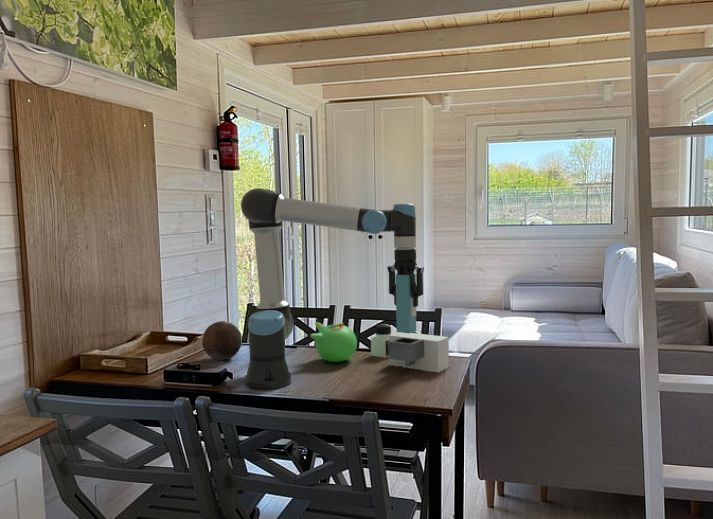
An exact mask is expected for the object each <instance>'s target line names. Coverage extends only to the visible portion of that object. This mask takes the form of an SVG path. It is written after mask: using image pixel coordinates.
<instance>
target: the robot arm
mask: <svg viewBox="0 0 713 519" xmlns="http://www.w3.org/2000/svg"><path fill="white" fill-rule="evenodd" d="M240 202H241V203H240V209H241V212H242V214H243V216H244V217H245V219H246V220H248V227H249V228H248V229H249V230H250V232H252V233H253V237H254V245H255V246H254V247H255V258H256V259H255V260H256V269H257V270H256V271H257V279H258V290H259V291H258V292H259V300H260V301H259V303H258V304H257V306H256V312H253V313H252V314H250V316H249V318H248V323H247V328H248V346H249V349H248V350H249V364H248V367H247V373H246V375H245V377H244V379H245V380H244V381H245V382H244V383H245V384H244V385H245V386H246V387H247V388H249V389H254V390H274V389H280V388H284V387H287V386H288V385H290V384H291V383H292V374H291V372H290V371H289V367H288V363H287V360H286V343H285V342H286V340H287V339H288V338H289V337H290V335H291V334H292V332H293V329H294V318H293V315H292V314H291V307H290V302H289V301H287V299H286V297H285V288H284V277H283V265H282V255H281V254H282V253H281V251H282V250H281V241H280V231H281V230H282V229H283V222H287V223H295V224H296V223H297V224H303V225H311V226H320V227H324V228H325V227H326V228H332V229H333V228H334V229H339V230H341V229H342V230H348V231H356V232H361V233H367V234H372V235H377V234H381V233H384V232H385V233H387V232H388V233H389V232H393V242H394V243H393V248H395V249H394V250H393V253H394V254H393V257H394V258H393V259H394V263H393V265H388V266H387V267H386V269H387V272H388V294H389V295H392V296H393V302H394V306H396V275H409V277H410V289H411V293H412V297H411V298H410V313H411V317H413V316H416V317H417V307H419V297H421V296H423V295H424V276H423V274H424V270H425V267H423V266H419V265H418V264H417V261H416V260H417V250H416V249H415V248H416V247H417V236H416V235H417V234H416V232H417V229H416V228H417V226H416V225H417V224H416V223H417V222H416V221H417V220H416V218H417V215H416V206H415V205H414V204H413V203H395V204H393V206H392V207H393V208H392V209H388V210H387V209H386V210H385V209H369V208H363V207H362V208H361V207H355V206H349V205H348V206H347V205H340V204H335V203H334V204H333V203H325V202H318V201H313V200H306V199H305V200H304V199H297V198H289V197H284V196H283V194H281V193H276V192H275V191H274V190H271V189H266V188H258V187H257V188H252V189H249V190H248V191H247V192H245V194H244V195H243V197H242V199H241V201H240ZM396 272H397V273H396ZM412 274H414V275H412ZM415 275H416V282H415Z"/></svg>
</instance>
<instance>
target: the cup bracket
mask: <svg viewBox="0 0 713 519" xmlns="http://www.w3.org/2000/svg"><path fill="white" fill-rule="evenodd" d="M422 357H424V340H423V339H414V338H406V337H401V338H398V339H395V340H392V341H389V357H388V360H389V359H394V360H401V361H405V364H406V366H411V365H413V364H415V360H417V359H420V358H422Z"/></svg>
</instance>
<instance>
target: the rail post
mask: <svg viewBox="0 0 713 519" xmlns="http://www.w3.org/2000/svg"><path fill="white" fill-rule="evenodd" d="M414 274H415V273H414ZM414 274H412V275H414ZM415 282H416V274H415ZM395 284H396V305H395V313H396V314H395V315H396V317H395V318H396V333H398V332H401V333H416V332H417V315H416V316H413V317H411V313H410V298H411V297H412V293H411V289H410V277H409V275H397V274H395Z"/></svg>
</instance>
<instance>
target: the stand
mask: <svg viewBox="0 0 713 519" xmlns="http://www.w3.org/2000/svg"><path fill="white" fill-rule="evenodd" d="M401 337H406V338H414V339H423V340H424V357H422V358H420V359H417V360H415V364H413V365H411V366H406V364H405V361H401V360H394V359H389V358H388V360H389V361H388V362H389V366H393V365H394V366H393V367H399V366H402V367H401V368H406V367H407V369H412V368H413V369H414V370H418V369H419V370H421V371H424V372H432V373H440V372H443V371H445V370H446V369H448V367H449V368H450V359H449V358H450V356H449V354H450V353H449V352H450V350H449V347H450V346H449V343H450V342H449V339H450V338H449V336H442V335H433V334H432V335H431V334H425V333H424V334H423V333H416V332H412V333H401V332H395V333H391V335H389V341H392V340H395V339H398V338H401ZM444 369H445V370H444Z"/></svg>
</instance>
